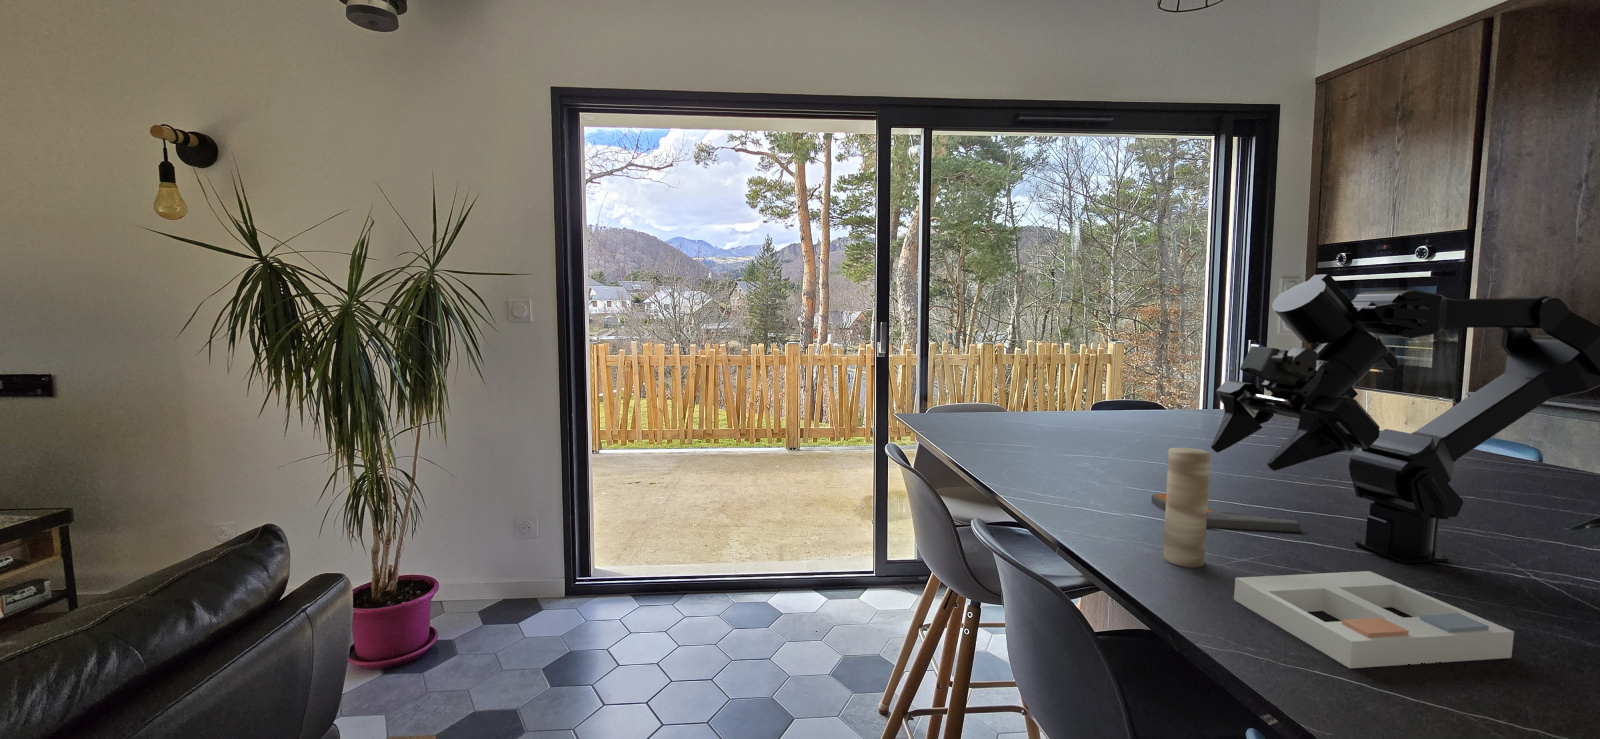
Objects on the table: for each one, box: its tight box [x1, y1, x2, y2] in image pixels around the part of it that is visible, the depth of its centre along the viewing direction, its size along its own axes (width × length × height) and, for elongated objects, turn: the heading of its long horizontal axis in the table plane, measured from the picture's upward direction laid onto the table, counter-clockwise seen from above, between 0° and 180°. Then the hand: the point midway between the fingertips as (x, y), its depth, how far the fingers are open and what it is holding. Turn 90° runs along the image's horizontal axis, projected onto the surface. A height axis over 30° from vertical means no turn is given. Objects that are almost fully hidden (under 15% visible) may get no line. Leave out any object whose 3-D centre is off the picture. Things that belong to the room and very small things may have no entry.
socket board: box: [1233, 570, 1515, 669], centre depth 62 cm, size 16×13×3 cm
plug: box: [1162, 447, 1211, 569], centre depth 77 cm, size 4×4×14 cm
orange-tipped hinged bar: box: [1151, 493, 1301, 533], centre depth 94 cm, size 2×16×12 cm
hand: (1240, 458), depth 77 cm, fingers open, 9 cm apart
